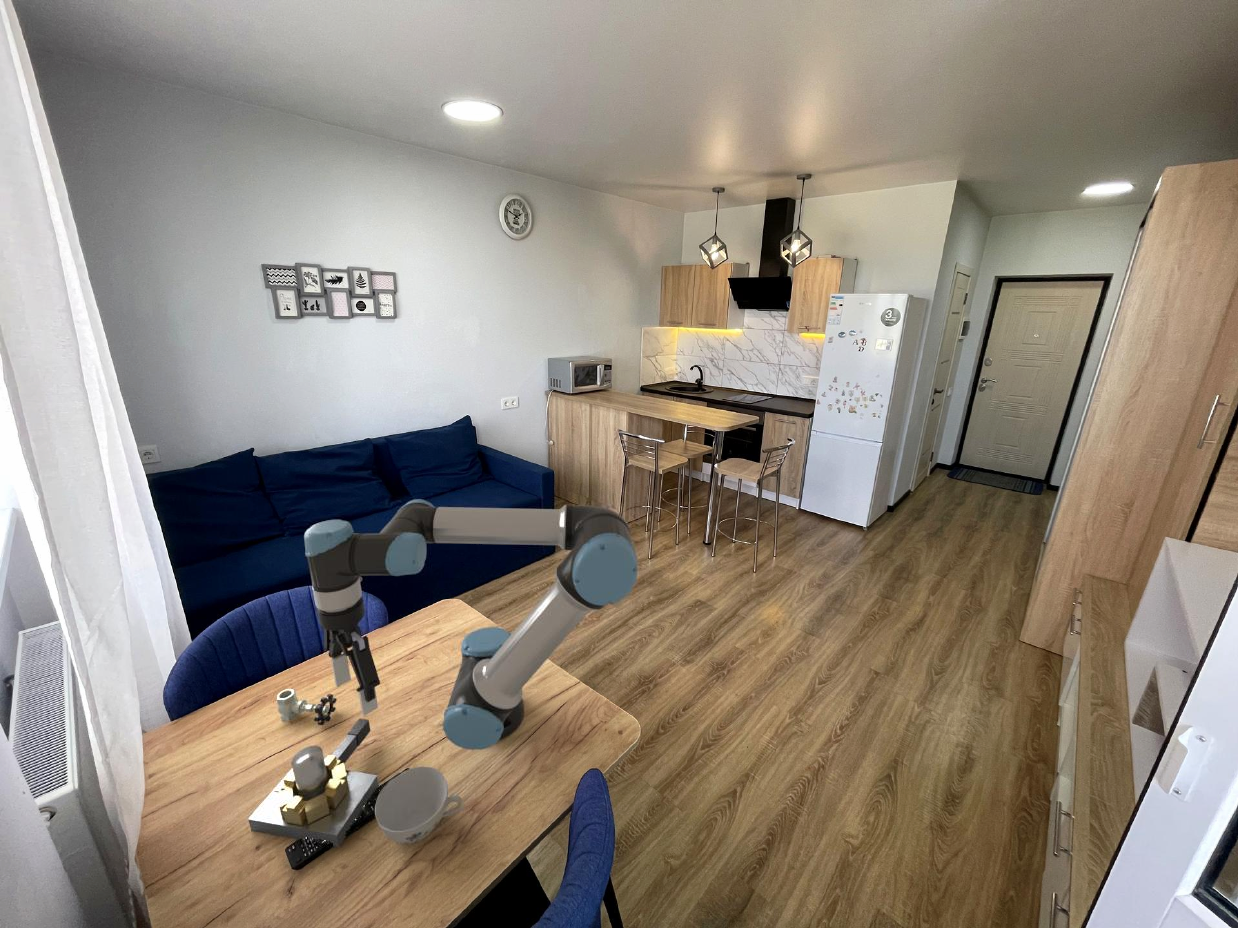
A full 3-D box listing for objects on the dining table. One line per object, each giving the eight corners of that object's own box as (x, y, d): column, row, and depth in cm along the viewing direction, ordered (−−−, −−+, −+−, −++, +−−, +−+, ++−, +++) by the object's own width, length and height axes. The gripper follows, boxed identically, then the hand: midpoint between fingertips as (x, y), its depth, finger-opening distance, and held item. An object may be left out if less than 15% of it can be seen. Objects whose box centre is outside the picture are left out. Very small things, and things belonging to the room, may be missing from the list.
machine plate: (379, 786, 100) (371, 737, 96) (339, 846, 89) (328, 794, 85) (300, 772, 102) (289, 724, 98) (251, 830, 91) (236, 778, 87)
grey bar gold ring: (388, 733, 108) (386, 719, 107) (320, 828, 88) (317, 812, 87) (343, 726, 110) (341, 712, 108) (266, 818, 90) (262, 802, 89)
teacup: (369, 866, 86) (363, 833, 83) (392, 798, 98) (387, 768, 95) (457, 856, 88) (453, 825, 85) (468, 791, 99) (466, 761, 97)
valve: (271, 726, 113) (320, 732, 112) (266, 704, 111) (315, 709, 110) (292, 704, 119) (338, 709, 118) (287, 682, 117) (334, 687, 116)
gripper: (391, 616, 86) (404, 714, 93) (333, 572, 100) (349, 660, 106) (347, 637, 80) (365, 740, 87) (292, 587, 94) (311, 679, 101)
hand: (356, 696), depth 97 cm, fingers open, 11 cm apart
